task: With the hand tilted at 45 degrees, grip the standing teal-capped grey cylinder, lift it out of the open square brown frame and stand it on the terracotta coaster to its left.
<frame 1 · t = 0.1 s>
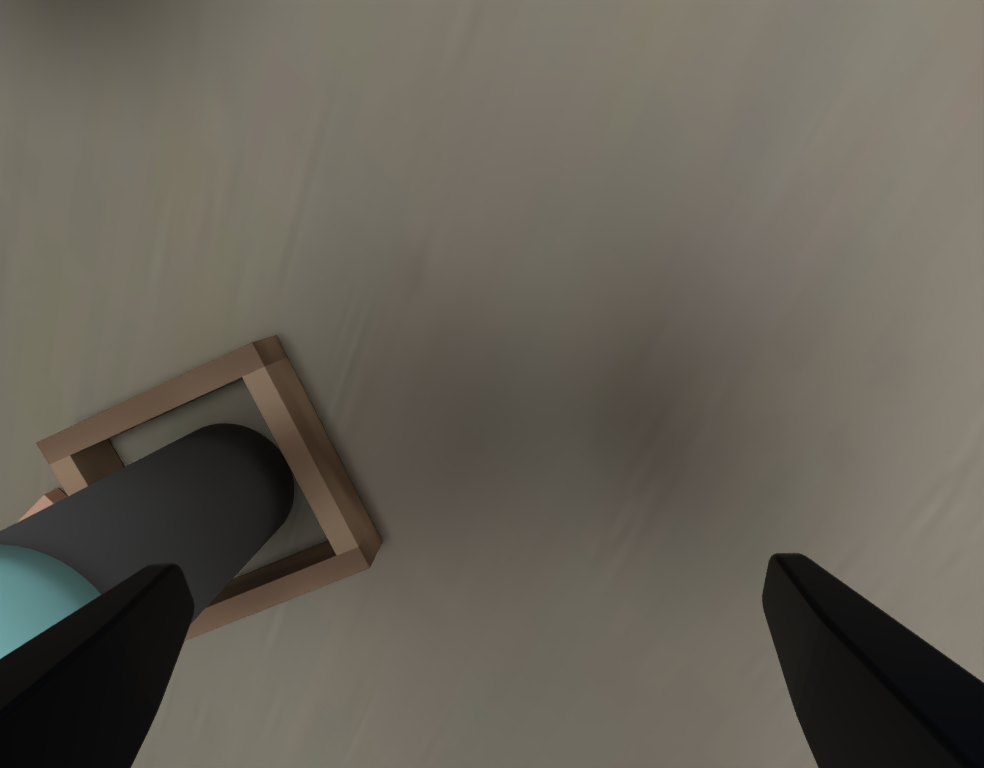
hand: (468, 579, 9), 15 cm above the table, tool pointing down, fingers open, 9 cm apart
teal-capped grey cylinder: (144, 551, 20), in the open square brown frame
coaster: (70, 602, 27), on the table
open square brown frame: (230, 485, 26), on the table
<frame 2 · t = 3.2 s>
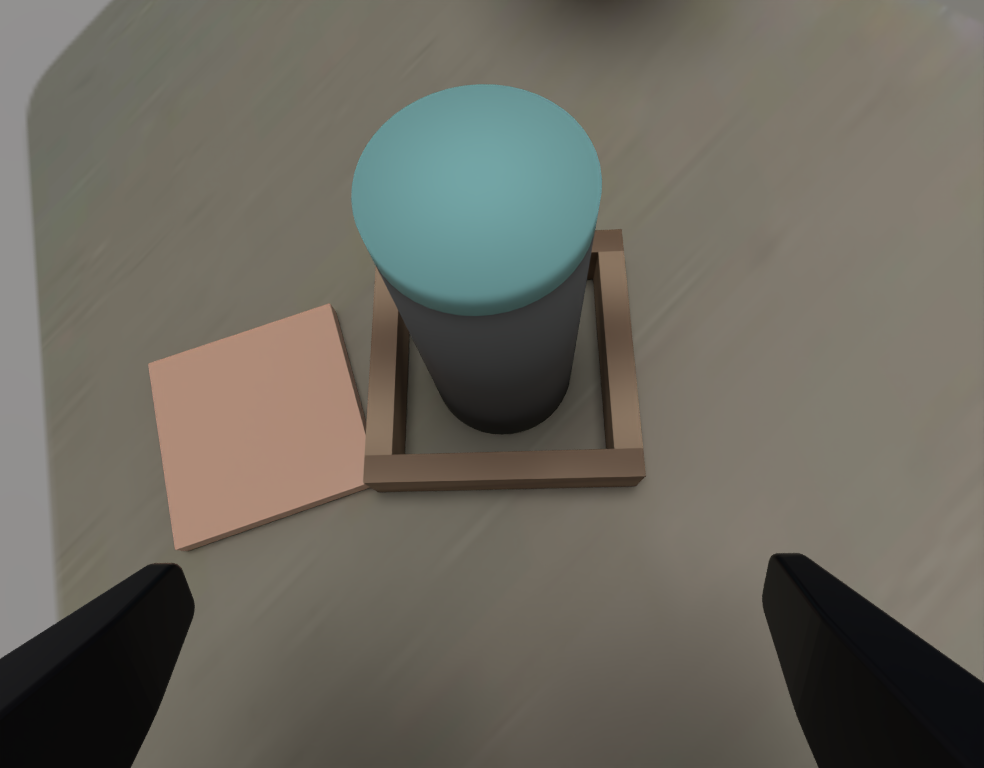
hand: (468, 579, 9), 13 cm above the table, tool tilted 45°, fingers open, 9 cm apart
teal-capped grey cylinder: (493, 303, 19), in the open square brown frame
coaster: (266, 424, 24), on the table
open square brown frame: (502, 368, 24), on the table
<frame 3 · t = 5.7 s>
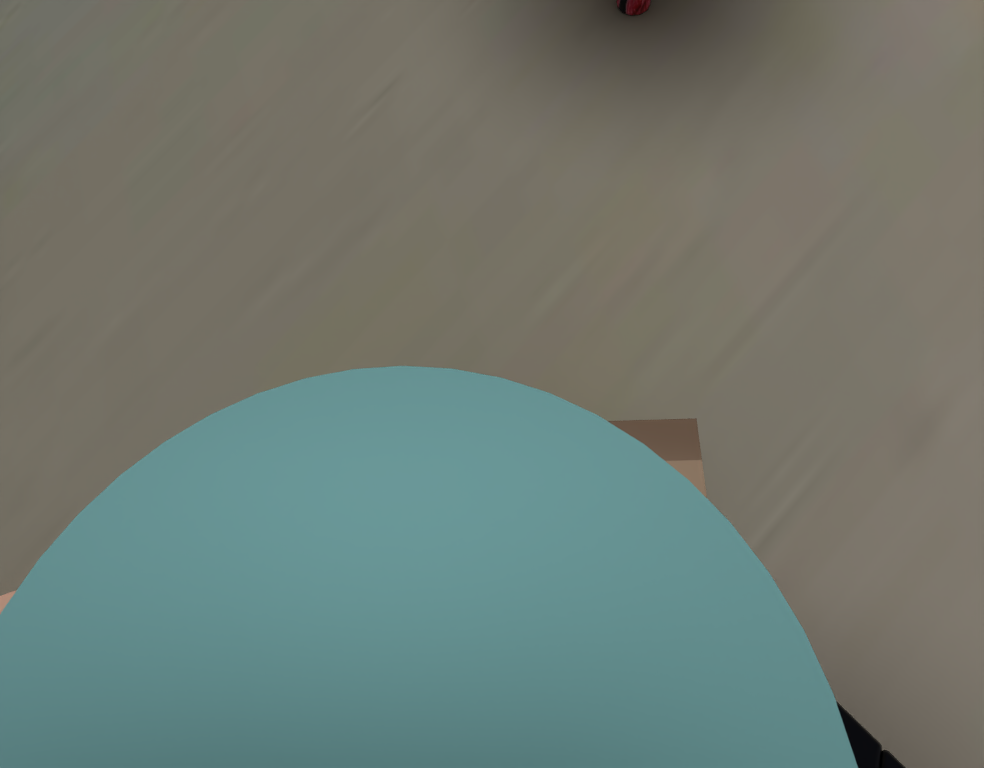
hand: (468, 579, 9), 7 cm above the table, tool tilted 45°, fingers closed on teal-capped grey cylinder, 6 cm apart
teal-capped grey cylinder: (471, 673, 9), in the open square brown frame, touching gripper
open square brown frame: (495, 640, 15), on the table
lantern: (632, 8, 22), on the table
when the fingers open (8 cm above the table, at t = 9.0 s): teal-capped grey cylinder stays where it is, resting on coaster.
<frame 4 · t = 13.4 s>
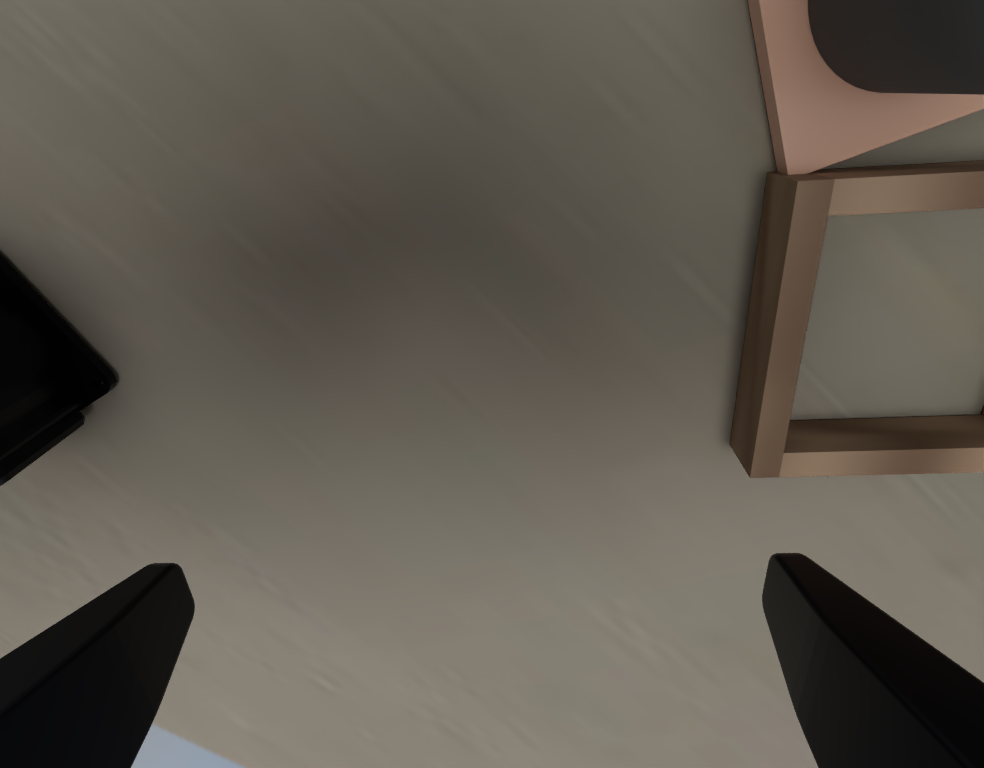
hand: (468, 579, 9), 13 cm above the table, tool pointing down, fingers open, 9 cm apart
open square brown frame: (895, 317, 20), on the table
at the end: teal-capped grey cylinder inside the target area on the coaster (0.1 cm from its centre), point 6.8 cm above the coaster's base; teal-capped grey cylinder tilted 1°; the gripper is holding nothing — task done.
